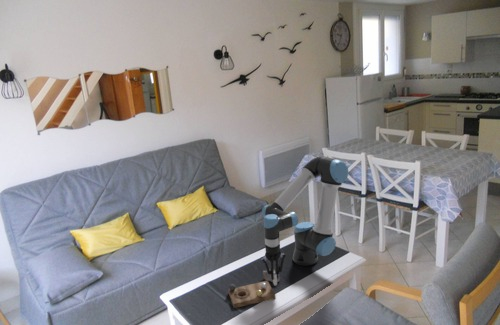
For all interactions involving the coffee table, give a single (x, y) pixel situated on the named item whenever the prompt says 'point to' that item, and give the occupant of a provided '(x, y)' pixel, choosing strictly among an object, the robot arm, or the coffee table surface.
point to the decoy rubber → (232, 287)
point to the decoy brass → (259, 293)
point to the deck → (250, 294)
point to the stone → (269, 276)
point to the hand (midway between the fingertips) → (275, 283)
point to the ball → (263, 286)
